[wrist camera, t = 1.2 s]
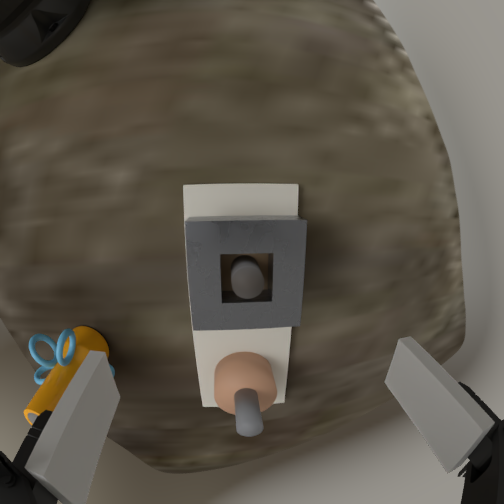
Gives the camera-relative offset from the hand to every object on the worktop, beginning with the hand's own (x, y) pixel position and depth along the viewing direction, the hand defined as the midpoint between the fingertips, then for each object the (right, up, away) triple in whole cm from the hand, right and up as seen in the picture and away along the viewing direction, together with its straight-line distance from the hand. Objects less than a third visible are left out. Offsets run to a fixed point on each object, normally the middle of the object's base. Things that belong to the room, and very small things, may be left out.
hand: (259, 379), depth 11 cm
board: (-1, -1, +20) cm, 20 cm away
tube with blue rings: (-21, -7, +19) cm, 30 cm away
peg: (-1, -9, +21) cm, 23 cm away
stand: (-1, +5, +17) cm, 18 cm away
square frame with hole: (-1, +4, +13) cm, 14 cm away
